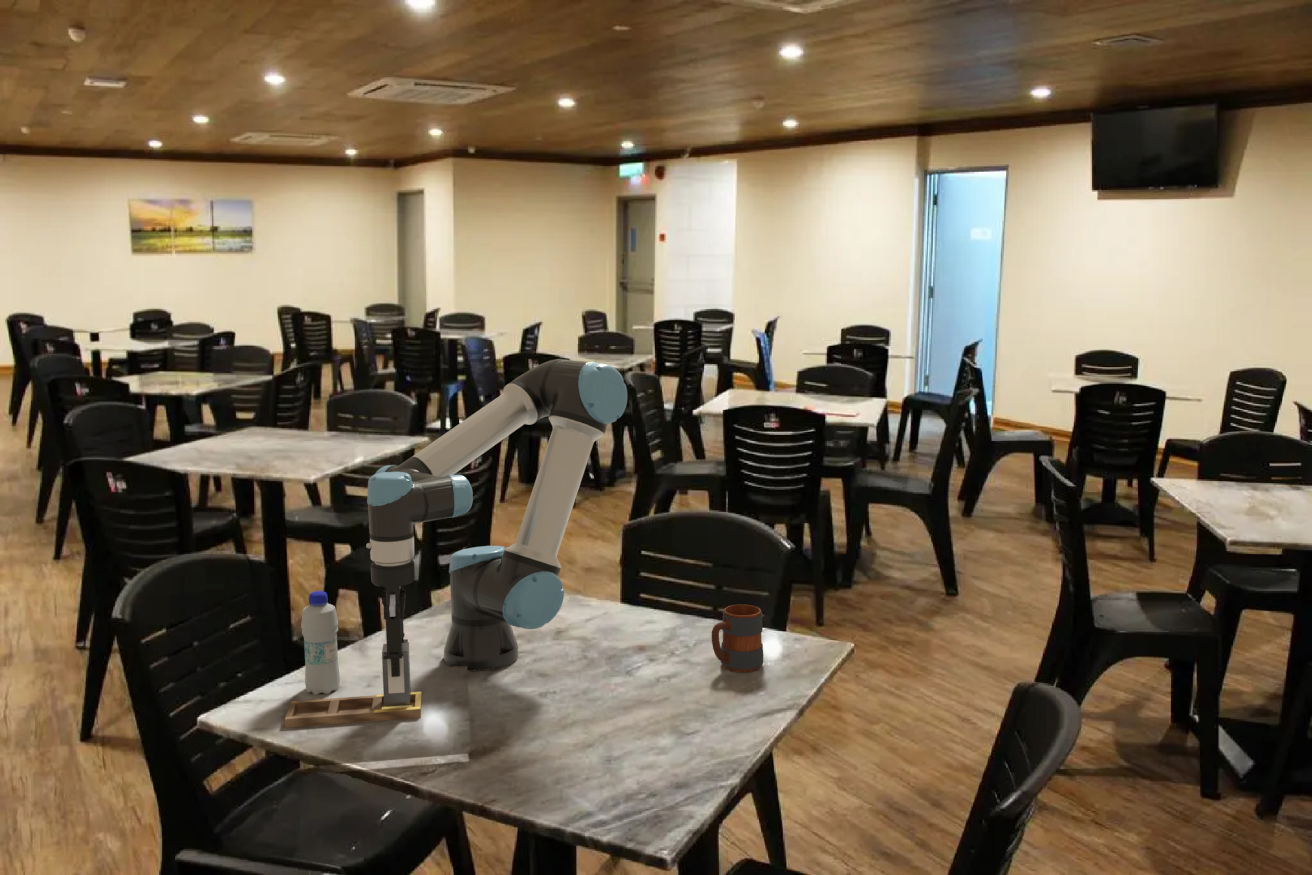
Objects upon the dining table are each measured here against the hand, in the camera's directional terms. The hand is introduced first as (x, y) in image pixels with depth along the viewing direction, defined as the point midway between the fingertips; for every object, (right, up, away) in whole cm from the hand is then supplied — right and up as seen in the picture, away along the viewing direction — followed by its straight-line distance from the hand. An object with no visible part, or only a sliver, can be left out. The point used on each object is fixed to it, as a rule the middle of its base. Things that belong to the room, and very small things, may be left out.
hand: (397, 686), depth 198 cm
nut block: (0, -3, 0) cm, 3 cm away
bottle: (-17, -4, +11) cm, 20 cm away
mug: (+62, -2, +24) cm, 67 cm away
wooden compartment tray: (-7, -6, 0) cm, 9 cm away
